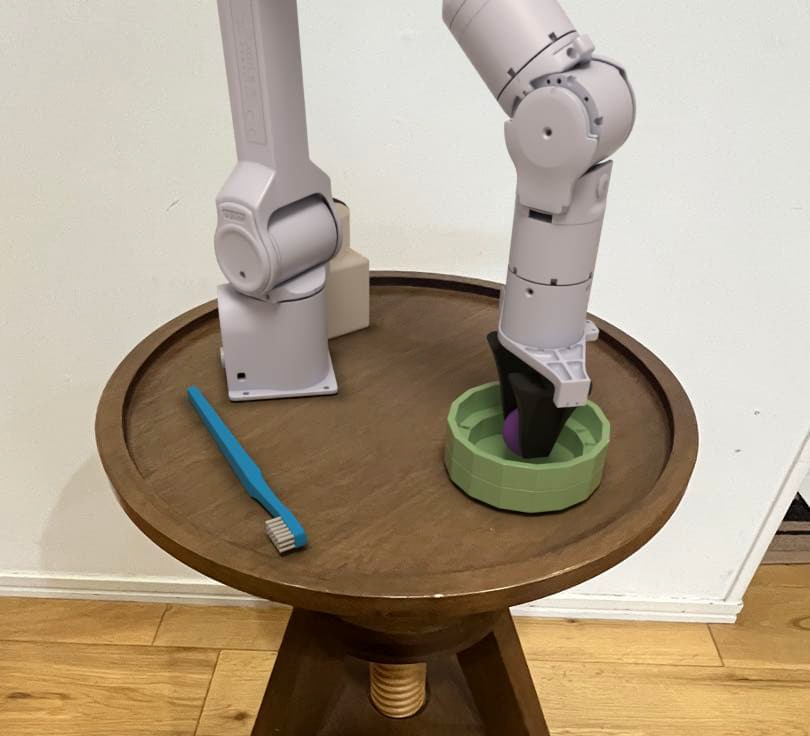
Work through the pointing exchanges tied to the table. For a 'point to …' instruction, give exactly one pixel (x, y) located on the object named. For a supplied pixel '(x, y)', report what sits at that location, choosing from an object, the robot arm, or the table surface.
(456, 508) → the table surface
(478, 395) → the bowl
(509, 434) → the ball
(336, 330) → the cylinder-topped cream block
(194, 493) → the table surface
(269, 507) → the toothbrush
